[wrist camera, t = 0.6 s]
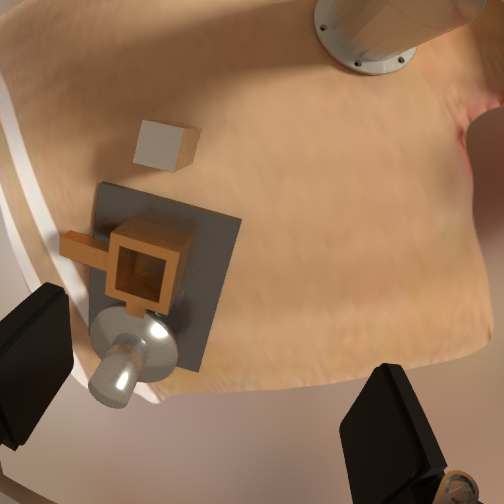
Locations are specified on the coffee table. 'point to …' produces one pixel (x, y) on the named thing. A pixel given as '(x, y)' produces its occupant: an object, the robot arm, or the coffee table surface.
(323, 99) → the coffee table surface
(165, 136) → the grey block
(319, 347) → the coffee table surface
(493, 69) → the coffee table surface
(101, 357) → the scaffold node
